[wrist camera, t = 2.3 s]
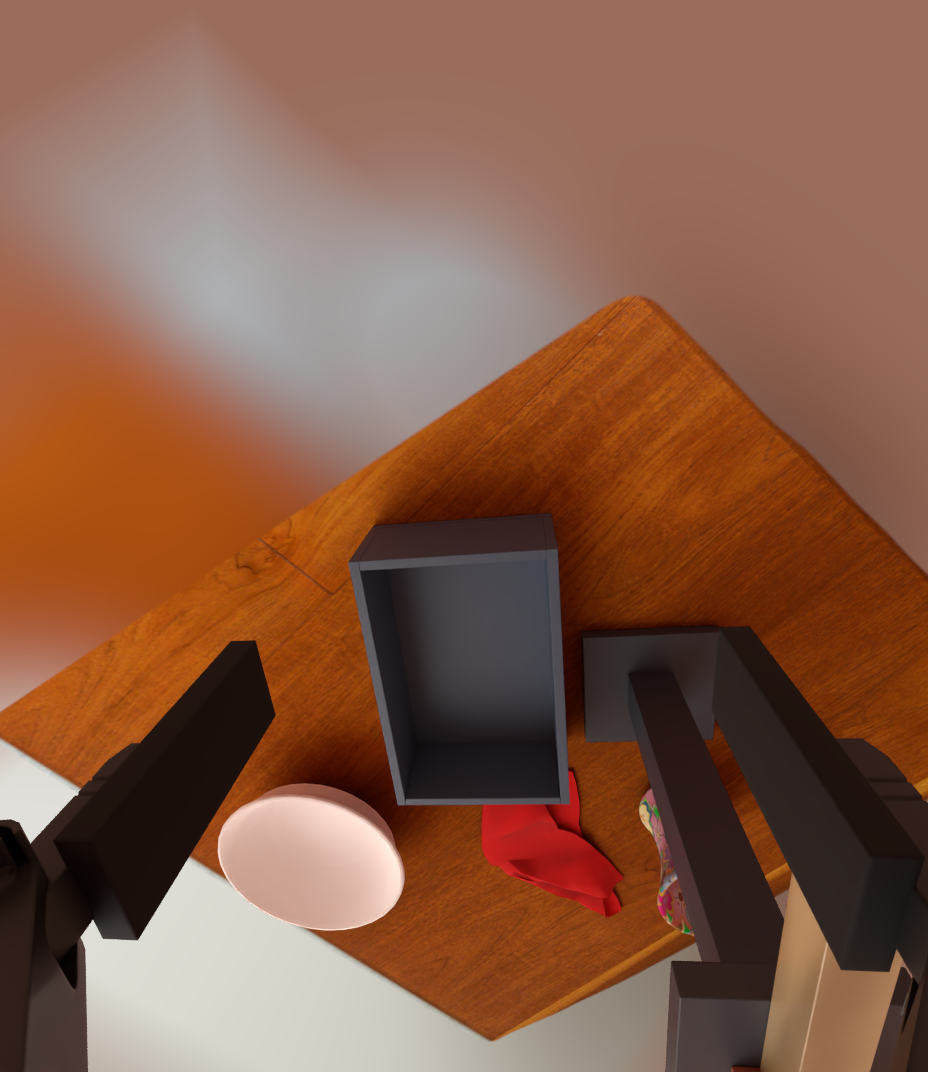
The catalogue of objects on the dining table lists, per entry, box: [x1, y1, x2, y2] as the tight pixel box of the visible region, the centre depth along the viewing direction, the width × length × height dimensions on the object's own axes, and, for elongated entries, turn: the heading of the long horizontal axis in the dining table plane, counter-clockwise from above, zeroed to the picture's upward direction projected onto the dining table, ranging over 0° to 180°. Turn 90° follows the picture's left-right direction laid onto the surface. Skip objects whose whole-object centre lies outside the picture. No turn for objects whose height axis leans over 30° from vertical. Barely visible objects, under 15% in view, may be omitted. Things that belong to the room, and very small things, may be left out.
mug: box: [639, 788, 694, 936], centre depth 51 cm, size 12×9×11 cm
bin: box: [348, 513, 570, 805], centre depth 47 cm, size 16×25×8 cm, turn 6°
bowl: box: [218, 783, 405, 930], centre depth 58 cm, size 20×20×6 cm
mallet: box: [731, 873, 903, 1072], centre depth 21 cm, size 5×22×4 cm, turn 6°
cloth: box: [482, 770, 623, 918], centre depth 59 cm, size 26×14×2 cm, turn 23°
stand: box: [581, 625, 912, 1072], centre depth 38 cm, size 12×12×28 cm
